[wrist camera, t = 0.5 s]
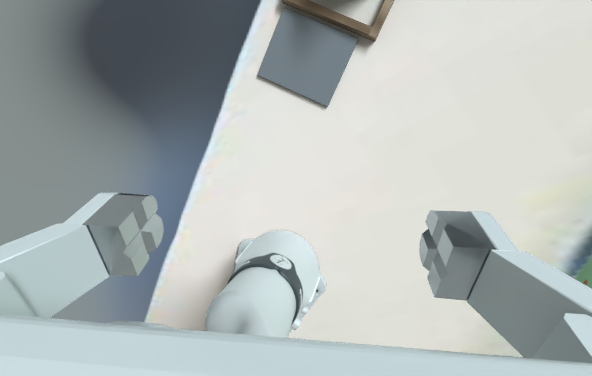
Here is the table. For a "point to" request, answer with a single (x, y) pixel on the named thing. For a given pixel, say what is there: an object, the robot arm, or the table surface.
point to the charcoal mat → (307, 56)
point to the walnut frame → (344, 17)
